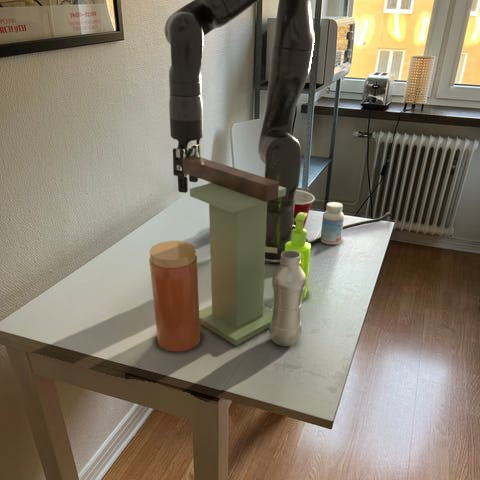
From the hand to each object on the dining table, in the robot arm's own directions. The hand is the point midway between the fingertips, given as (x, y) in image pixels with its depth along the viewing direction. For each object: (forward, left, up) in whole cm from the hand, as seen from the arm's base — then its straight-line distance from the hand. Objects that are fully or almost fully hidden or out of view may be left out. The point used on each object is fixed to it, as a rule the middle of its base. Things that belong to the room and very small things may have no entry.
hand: (188, 186), depth 120 cm
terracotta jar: (+11, +32, -22) cm, 40 cm away
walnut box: (-2, +26, +8) cm, 27 cm away
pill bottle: (-43, -4, -22) cm, 49 cm away
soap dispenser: (-20, +22, -22) cm, 37 cm away
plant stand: (-3, +29, -22) cm, 36 cm away
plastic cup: (-35, -13, -22) cm, 44 cm away
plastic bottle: (-10, +39, -22) cm, 46 cm away
